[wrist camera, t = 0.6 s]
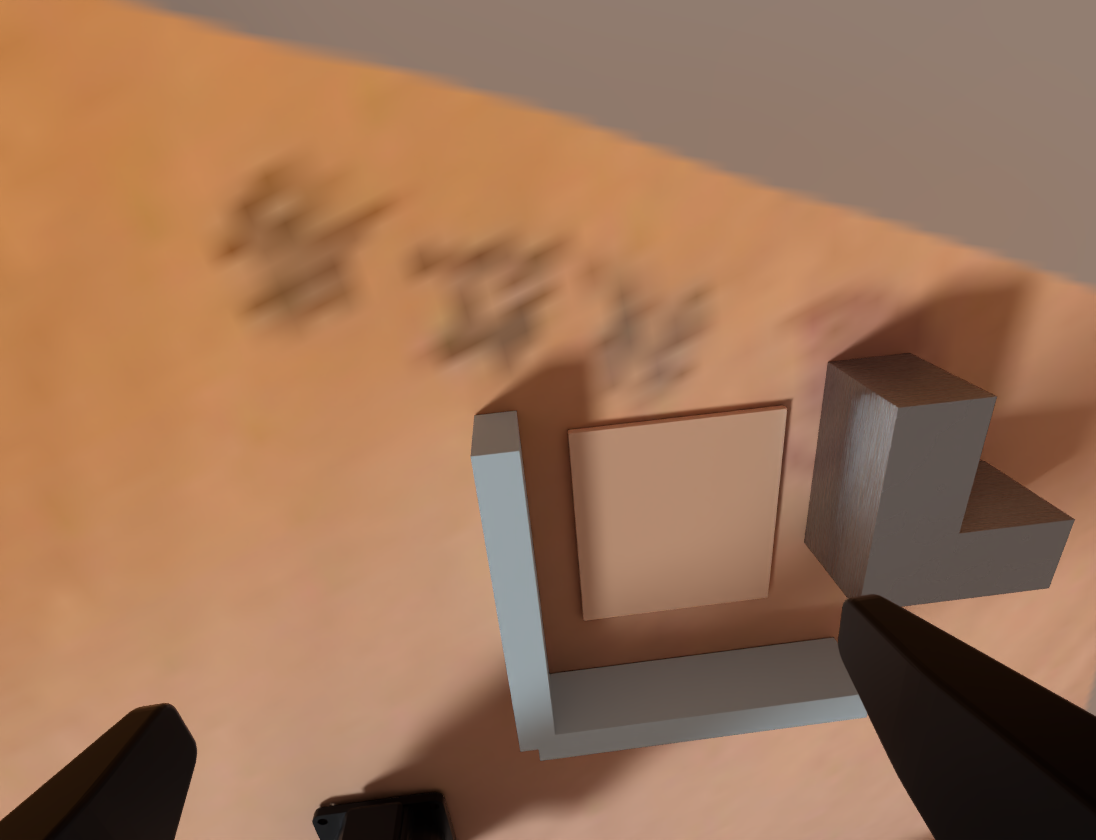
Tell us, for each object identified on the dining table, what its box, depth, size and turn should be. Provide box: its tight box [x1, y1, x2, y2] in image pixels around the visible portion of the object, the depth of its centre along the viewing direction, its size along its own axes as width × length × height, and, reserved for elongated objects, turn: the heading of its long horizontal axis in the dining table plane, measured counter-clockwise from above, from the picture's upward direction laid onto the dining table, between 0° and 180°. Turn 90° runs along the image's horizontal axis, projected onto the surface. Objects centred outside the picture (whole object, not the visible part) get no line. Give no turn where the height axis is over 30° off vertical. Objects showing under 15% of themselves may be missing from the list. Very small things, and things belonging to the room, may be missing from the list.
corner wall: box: [471, 411, 867, 761], centre depth 22 cm, size 15×15×3 cm
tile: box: [568, 405, 787, 621], centre depth 23 cm, size 9×8×1 cm
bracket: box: [804, 353, 1075, 607], centre depth 20 cm, size 8×7×4 cm
